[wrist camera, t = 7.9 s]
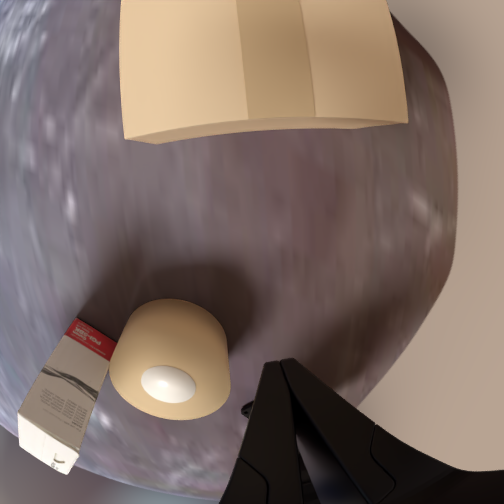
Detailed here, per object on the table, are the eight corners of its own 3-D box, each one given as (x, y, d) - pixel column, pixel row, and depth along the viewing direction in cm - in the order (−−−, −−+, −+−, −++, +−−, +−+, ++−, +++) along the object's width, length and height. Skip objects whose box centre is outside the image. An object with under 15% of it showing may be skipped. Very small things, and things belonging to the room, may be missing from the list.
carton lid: (401, 123, 12) (409, 123, 11) (128, 139, 11) (124, 139, 10) (377, -10, 9) (382, -14, 8) (125, -10, 8) (122, -16, 7)
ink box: (75, 313, 20) (14, 410, 9) (120, 343, 21) (81, 452, 10) (57, 365, 22) (16, 447, 11) (95, 389, 23) (66, 477, 12)
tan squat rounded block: (247, 350, 23) (255, 392, 18) (175, 391, 24) (171, 431, 19) (177, 277, 20) (167, 313, 15) (106, 332, 21) (87, 370, 16)
